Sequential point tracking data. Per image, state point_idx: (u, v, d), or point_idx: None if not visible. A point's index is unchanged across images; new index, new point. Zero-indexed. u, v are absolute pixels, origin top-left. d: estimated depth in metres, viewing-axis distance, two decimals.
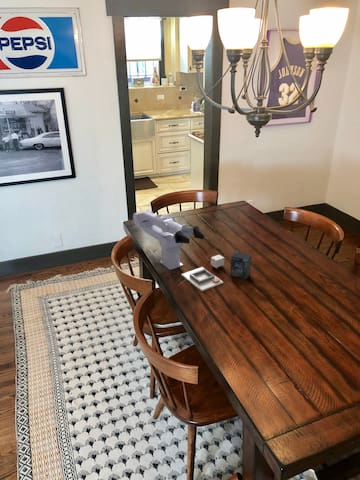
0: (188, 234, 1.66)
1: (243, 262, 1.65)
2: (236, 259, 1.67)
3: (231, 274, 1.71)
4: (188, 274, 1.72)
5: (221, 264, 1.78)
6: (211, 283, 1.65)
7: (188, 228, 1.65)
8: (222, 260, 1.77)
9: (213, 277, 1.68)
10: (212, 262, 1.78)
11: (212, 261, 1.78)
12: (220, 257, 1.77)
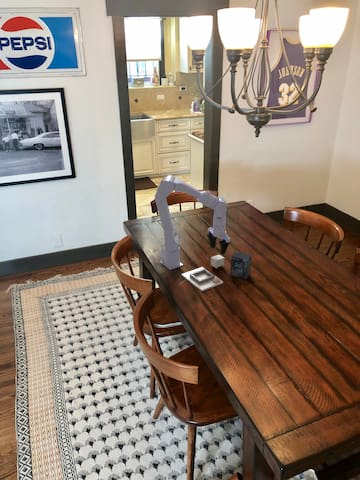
0: None
1: (243, 262, 1.65)
2: (236, 259, 1.67)
3: (231, 274, 1.71)
4: (188, 274, 1.72)
5: (221, 264, 1.78)
6: (211, 283, 1.65)
7: None
8: (222, 260, 1.77)
9: (213, 277, 1.68)
10: (212, 262, 1.78)
11: (212, 261, 1.78)
12: (220, 257, 1.77)
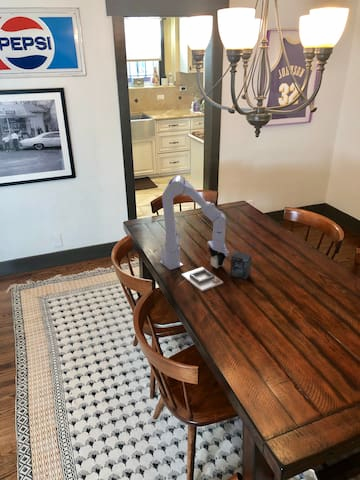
0: None
1: (243, 262, 1.65)
2: (236, 259, 1.67)
3: (231, 274, 1.71)
4: (188, 274, 1.72)
5: None
6: (211, 283, 1.65)
7: None
8: None
9: (213, 277, 1.68)
10: (212, 262, 1.78)
11: (212, 261, 1.78)
12: None
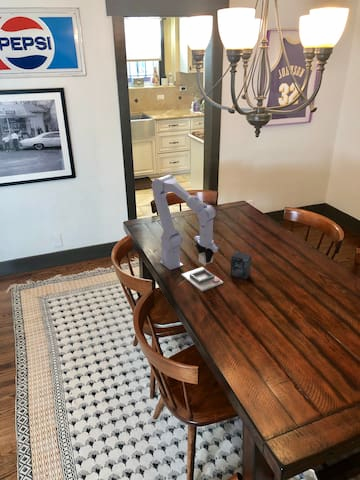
0: None
1: (243, 262, 1.65)
2: (236, 259, 1.67)
3: (231, 274, 1.71)
4: (188, 274, 1.72)
5: None
6: (211, 283, 1.65)
7: None
8: None
9: (213, 277, 1.68)
10: (200, 259, 1.66)
11: (199, 258, 1.66)
12: None
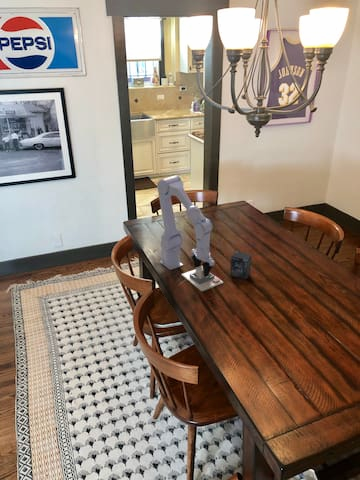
0: None
1: (243, 262, 1.65)
2: (236, 259, 1.67)
3: (231, 274, 1.71)
4: (188, 274, 1.72)
5: None
6: (211, 283, 1.65)
7: None
8: None
9: (213, 277, 1.68)
10: (196, 273, 1.67)
11: (196, 272, 1.67)
12: None
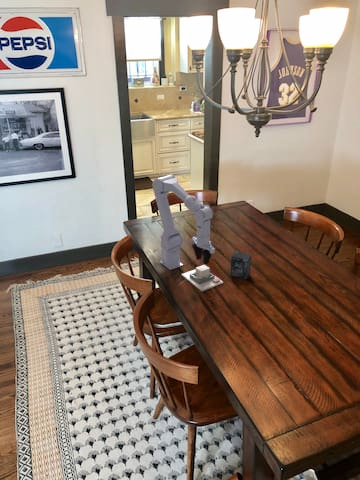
0: None
1: (243, 262, 1.65)
2: (236, 259, 1.67)
3: (231, 274, 1.71)
4: (188, 274, 1.72)
5: (206, 275, 1.67)
6: (211, 283, 1.65)
7: None
8: (207, 271, 1.66)
9: (213, 277, 1.68)
10: (196, 273, 1.67)
11: (196, 272, 1.67)
12: (205, 267, 1.67)
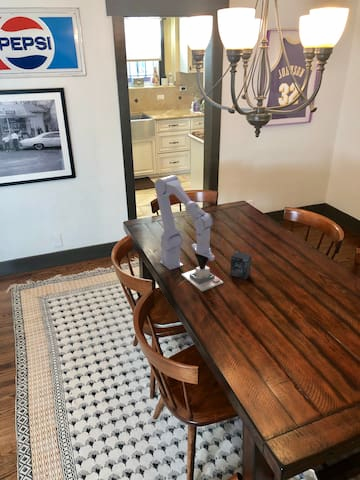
0: None
1: (243, 262, 1.65)
2: (236, 259, 1.67)
3: (231, 274, 1.71)
4: (188, 274, 1.72)
5: (206, 275, 1.67)
6: (211, 283, 1.65)
7: None
8: (207, 271, 1.66)
9: (213, 277, 1.68)
10: (196, 273, 1.67)
11: (196, 272, 1.67)
12: (205, 267, 1.67)
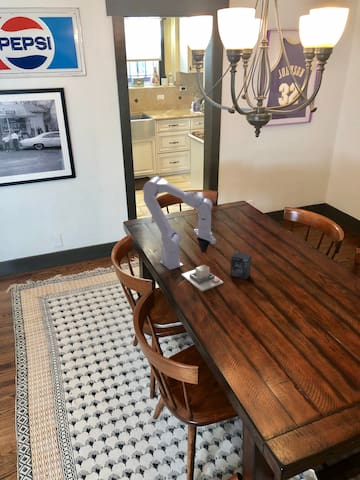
0: None
1: (243, 262, 1.65)
2: (236, 259, 1.67)
3: (231, 274, 1.71)
4: (188, 274, 1.72)
5: (206, 275, 1.67)
6: (211, 283, 1.65)
7: None
8: (207, 271, 1.66)
9: (213, 277, 1.68)
10: (196, 273, 1.67)
11: (196, 272, 1.67)
12: (205, 267, 1.67)
